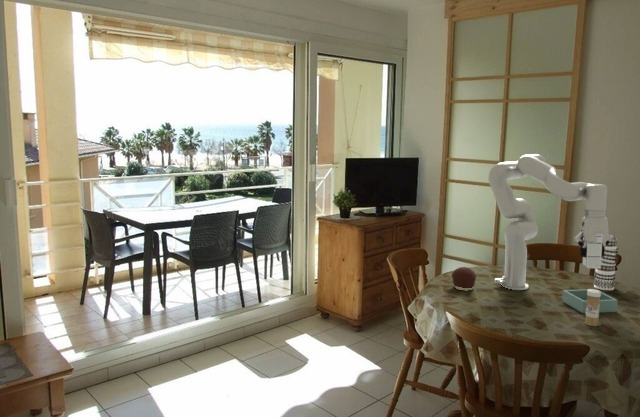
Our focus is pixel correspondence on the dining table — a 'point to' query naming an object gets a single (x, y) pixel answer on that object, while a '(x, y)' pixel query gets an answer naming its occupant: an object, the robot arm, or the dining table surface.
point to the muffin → (464, 277)
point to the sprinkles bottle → (592, 307)
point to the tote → (579, 301)
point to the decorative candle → (607, 267)
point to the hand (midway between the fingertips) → (591, 256)
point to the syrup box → (593, 254)
